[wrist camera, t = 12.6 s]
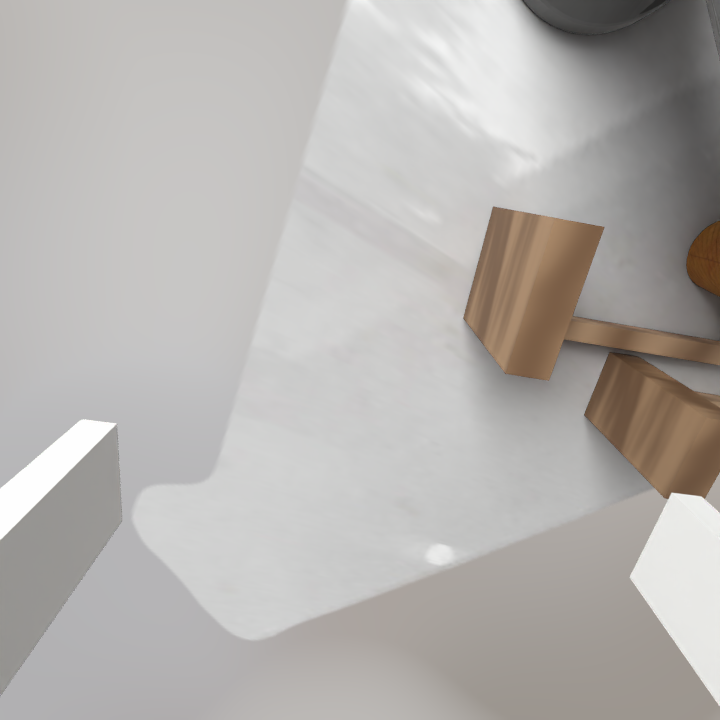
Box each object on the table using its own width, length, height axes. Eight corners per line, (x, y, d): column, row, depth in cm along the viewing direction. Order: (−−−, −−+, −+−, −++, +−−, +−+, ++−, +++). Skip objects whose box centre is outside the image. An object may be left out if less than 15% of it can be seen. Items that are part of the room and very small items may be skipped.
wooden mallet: (584, 414, 46) (664, 498, 34) (609, 352, 43) (706, 417, 31) (702, 433, 46) (822, 521, 34) (734, 372, 44) (876, 445, 32)
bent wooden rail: (463, 318, 41) (505, 373, 29) (524, 90, 35) (611, 41, 23) (735, 363, 43) (880, 433, 31) (844, 155, 36) (1085, 141, 24)
